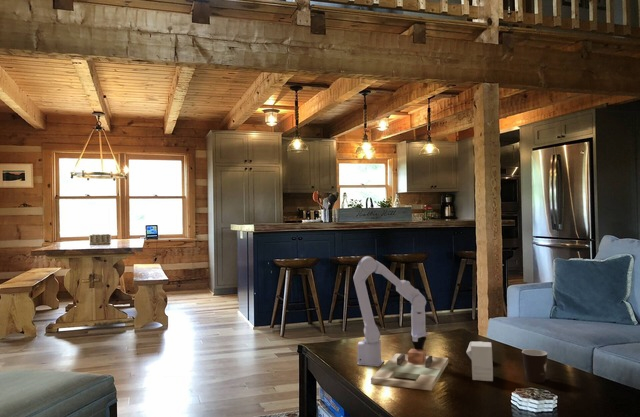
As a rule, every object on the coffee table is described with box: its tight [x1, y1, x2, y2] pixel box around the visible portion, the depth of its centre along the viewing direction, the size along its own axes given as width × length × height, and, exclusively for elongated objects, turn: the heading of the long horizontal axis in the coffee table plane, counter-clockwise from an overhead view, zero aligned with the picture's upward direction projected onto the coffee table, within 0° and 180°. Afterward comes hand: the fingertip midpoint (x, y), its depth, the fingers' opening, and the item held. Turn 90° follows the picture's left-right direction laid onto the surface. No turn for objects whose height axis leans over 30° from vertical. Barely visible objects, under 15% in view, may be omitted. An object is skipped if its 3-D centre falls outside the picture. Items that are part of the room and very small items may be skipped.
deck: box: [370, 353, 449, 391], centre depth 195 cm, size 22×35×4 cm, turn 157°
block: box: [407, 348, 427, 364], centre depth 203 cm, size 6×6×4 cm
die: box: [466, 341, 483, 361], centre depth 208 cm, size 8×9×10 cm
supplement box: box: [471, 341, 494, 382], centre depth 187 cm, size 7×7×13 cm
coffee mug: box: [521, 348, 548, 384], centre depth 184 cm, size 12×9×10 cm
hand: (419, 355), depth 207 cm, fingers closed
